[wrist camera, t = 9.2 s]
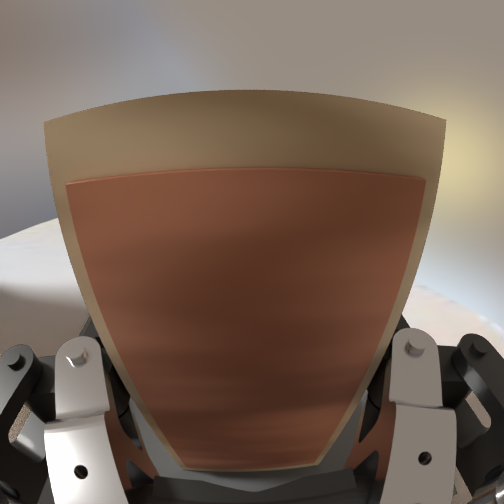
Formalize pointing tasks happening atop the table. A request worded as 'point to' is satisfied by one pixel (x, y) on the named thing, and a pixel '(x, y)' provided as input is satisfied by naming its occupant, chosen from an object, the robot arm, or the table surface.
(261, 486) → the rubber mat
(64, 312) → the table surface
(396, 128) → the tan two-tone tall block
